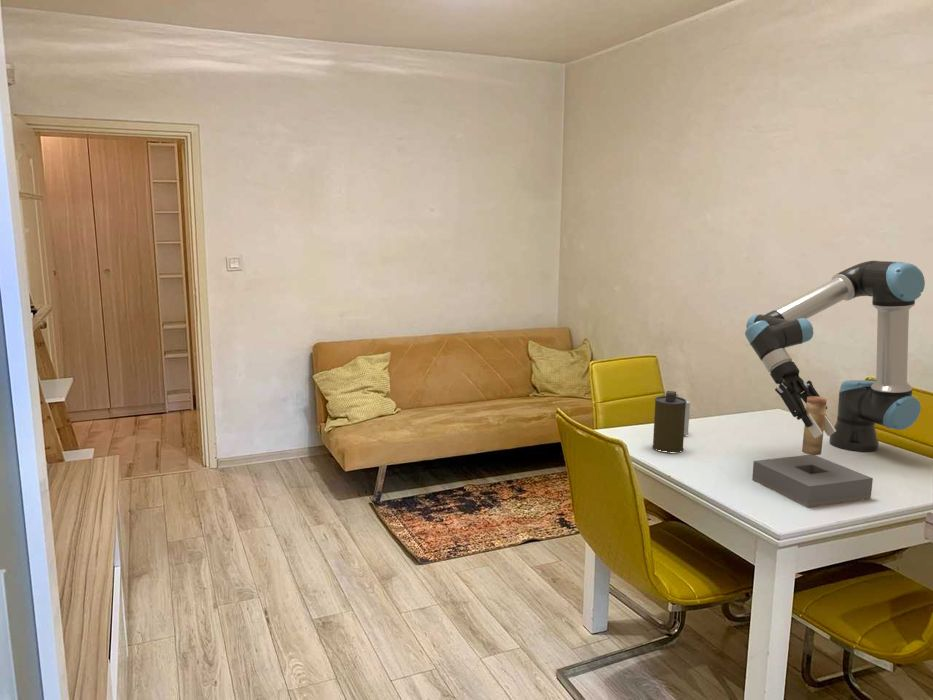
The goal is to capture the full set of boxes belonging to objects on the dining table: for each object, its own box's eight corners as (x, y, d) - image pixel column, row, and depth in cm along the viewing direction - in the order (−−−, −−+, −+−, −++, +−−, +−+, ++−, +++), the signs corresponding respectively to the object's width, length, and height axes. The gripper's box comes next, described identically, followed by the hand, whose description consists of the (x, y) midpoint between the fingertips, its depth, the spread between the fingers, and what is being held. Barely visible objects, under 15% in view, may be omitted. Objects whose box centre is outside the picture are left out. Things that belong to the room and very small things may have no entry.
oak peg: (811, 449, 207) (817, 395, 205) (825, 454, 203) (830, 399, 200) (798, 450, 206) (803, 396, 203) (811, 455, 201) (816, 400, 198)
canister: (681, 455, 236) (685, 396, 233) (650, 451, 240) (653, 393, 237) (685, 446, 246) (688, 389, 243) (654, 442, 250) (657, 387, 247)
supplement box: (688, 436, 257) (690, 402, 255) (668, 436, 257) (669, 402, 255) (682, 430, 265) (684, 397, 262) (662, 430, 265) (664, 397, 263)
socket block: (811, 472, 220) (813, 454, 219) (870, 498, 199) (872, 478, 198) (752, 479, 213) (753, 460, 212) (807, 507, 193) (809, 486, 192)
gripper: (792, 371, 218) (836, 437, 207) (751, 376, 210) (795, 445, 198) (809, 357, 213) (855, 424, 201) (768, 362, 205) (813, 432, 193)
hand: (825, 434), depth 200 cm, fingers closed on oak peg, 5 cm apart
